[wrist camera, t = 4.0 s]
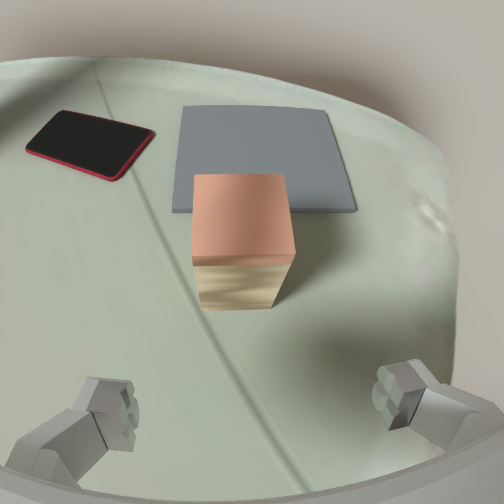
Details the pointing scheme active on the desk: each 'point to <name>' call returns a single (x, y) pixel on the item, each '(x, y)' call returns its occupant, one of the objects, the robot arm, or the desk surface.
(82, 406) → the robot arm
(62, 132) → the smartphone
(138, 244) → the desk surface
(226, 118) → the rubber mat
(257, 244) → the beech block
